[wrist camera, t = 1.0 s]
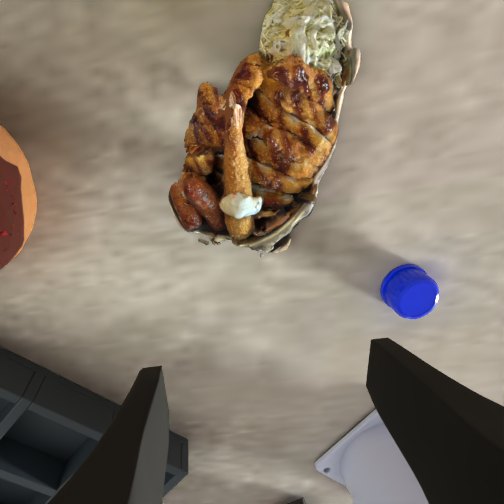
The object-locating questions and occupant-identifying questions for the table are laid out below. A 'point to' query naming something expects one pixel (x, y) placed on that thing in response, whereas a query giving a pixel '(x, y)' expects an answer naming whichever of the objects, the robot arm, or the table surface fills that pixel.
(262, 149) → the brown lumpy food piece
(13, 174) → the donut
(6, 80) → the table surface
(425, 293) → the bottle cap
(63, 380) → the grid
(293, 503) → the marker
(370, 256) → the table surface
